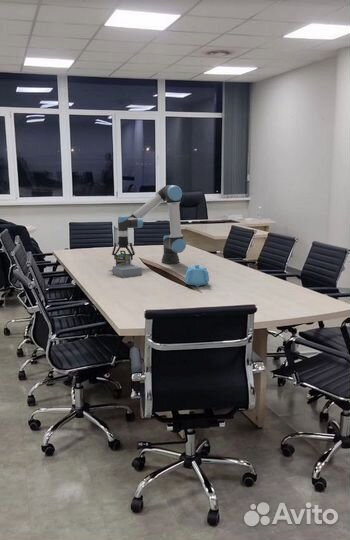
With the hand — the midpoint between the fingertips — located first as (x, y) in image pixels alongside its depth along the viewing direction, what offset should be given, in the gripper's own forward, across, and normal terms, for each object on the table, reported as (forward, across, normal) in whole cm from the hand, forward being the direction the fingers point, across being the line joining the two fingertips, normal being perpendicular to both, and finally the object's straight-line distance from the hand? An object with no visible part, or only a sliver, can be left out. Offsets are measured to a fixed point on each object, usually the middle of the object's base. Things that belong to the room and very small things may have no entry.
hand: (123, 263), depth 387 cm
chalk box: (+4, 0, 0) cm, 4 cm away
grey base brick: (+4, +7, -21) cm, 23 cm away
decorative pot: (+4, +61, -51) cm, 79 cm away
